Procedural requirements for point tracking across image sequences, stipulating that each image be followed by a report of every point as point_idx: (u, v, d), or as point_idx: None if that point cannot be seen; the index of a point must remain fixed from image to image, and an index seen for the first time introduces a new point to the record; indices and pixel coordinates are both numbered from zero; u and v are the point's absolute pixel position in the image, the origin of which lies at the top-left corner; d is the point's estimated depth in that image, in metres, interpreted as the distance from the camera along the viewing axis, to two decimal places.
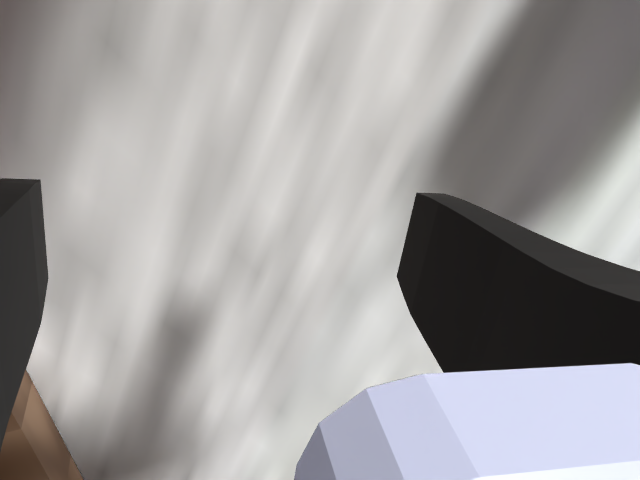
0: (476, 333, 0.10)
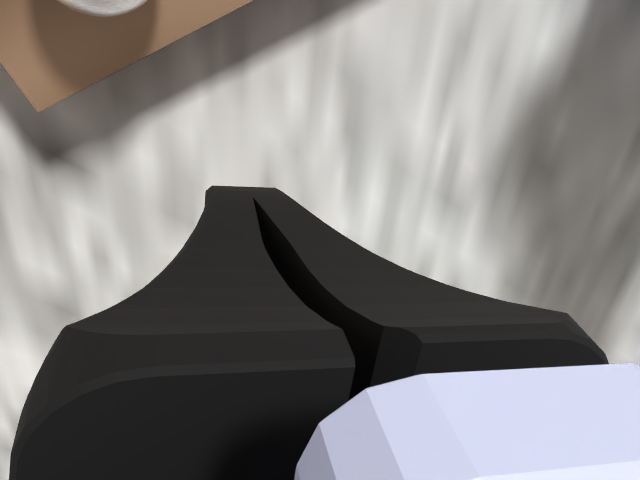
0: None
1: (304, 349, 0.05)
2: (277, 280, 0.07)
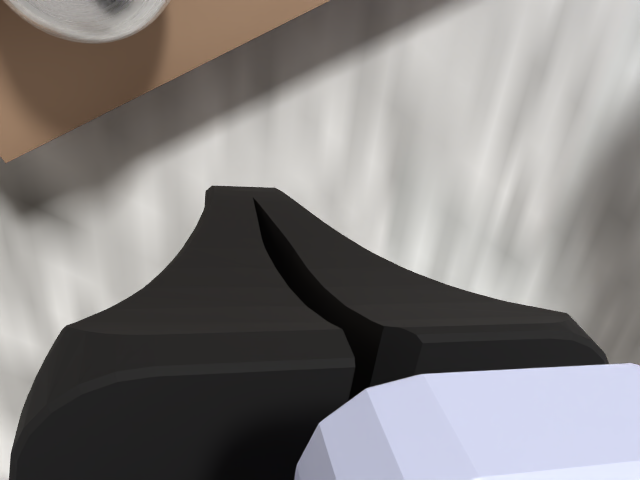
0: None
1: (305, 349, 0.05)
2: (277, 280, 0.07)
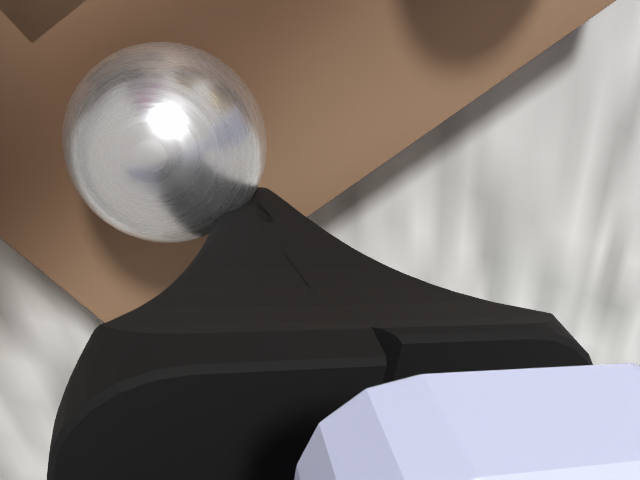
0: None
1: (337, 348, 0.05)
2: (299, 280, 0.07)
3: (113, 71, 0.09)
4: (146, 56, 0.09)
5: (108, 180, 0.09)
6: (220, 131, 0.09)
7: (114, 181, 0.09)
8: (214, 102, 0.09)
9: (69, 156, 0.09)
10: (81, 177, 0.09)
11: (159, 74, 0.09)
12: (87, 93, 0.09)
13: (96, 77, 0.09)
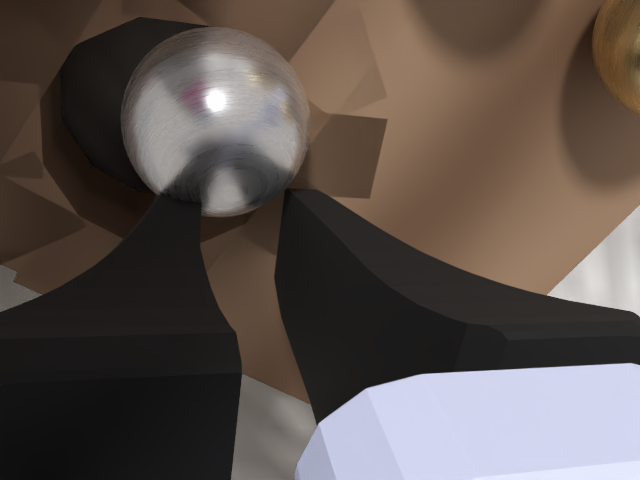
0: (322, 338, 0.10)
1: (189, 354, 0.04)
2: (202, 281, 0.07)
3: None
4: None
5: None
6: None
7: None
8: None
9: None
10: None
11: None
12: None
13: None
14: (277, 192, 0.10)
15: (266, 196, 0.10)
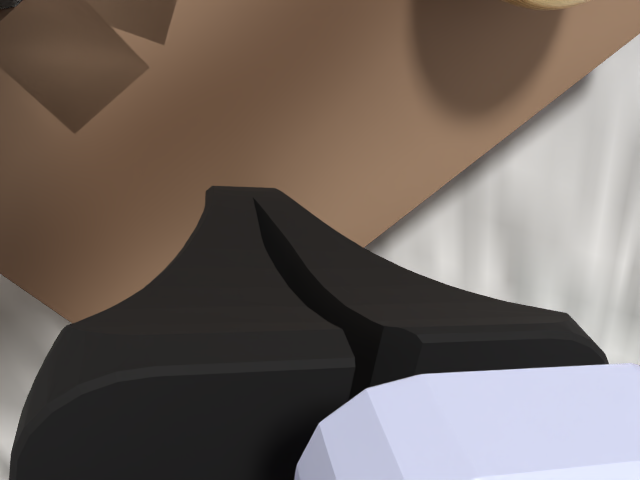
0: None
1: (305, 350, 0.05)
2: (278, 280, 0.07)
3: None
4: None
5: None
6: None
7: None
8: None
9: None
10: None
11: None
12: None
13: None
14: None
15: None
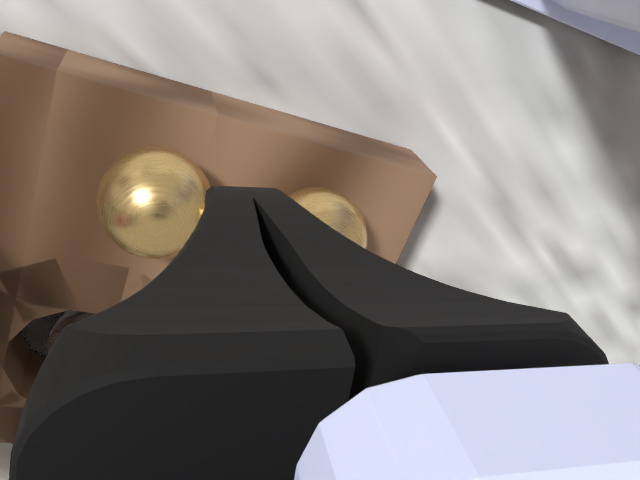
0: None
1: (304, 349, 0.05)
2: (277, 280, 0.07)
3: None
4: None
5: None
6: None
7: None
8: None
9: None
10: None
11: None
12: None
13: None
14: None
15: None
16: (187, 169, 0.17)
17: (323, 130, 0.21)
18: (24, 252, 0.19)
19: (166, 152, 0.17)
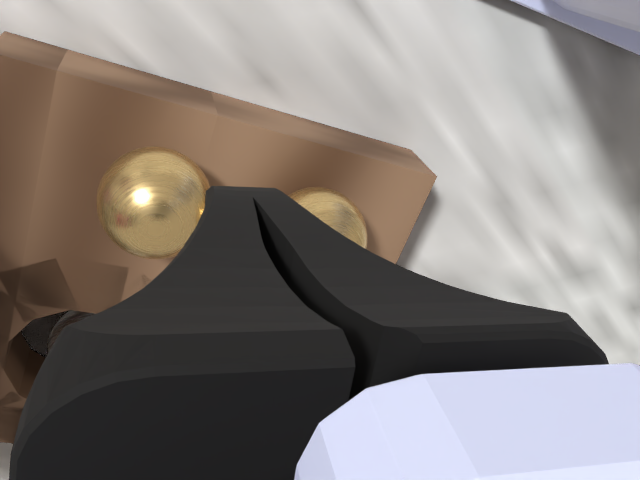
0: None
1: (304, 349, 0.05)
2: (277, 280, 0.07)
3: None
4: None
5: None
6: None
7: None
8: None
9: None
10: None
11: None
12: None
13: None
14: None
15: None
16: (187, 169, 0.17)
17: (323, 130, 0.21)
18: (24, 252, 0.19)
19: (166, 152, 0.17)
